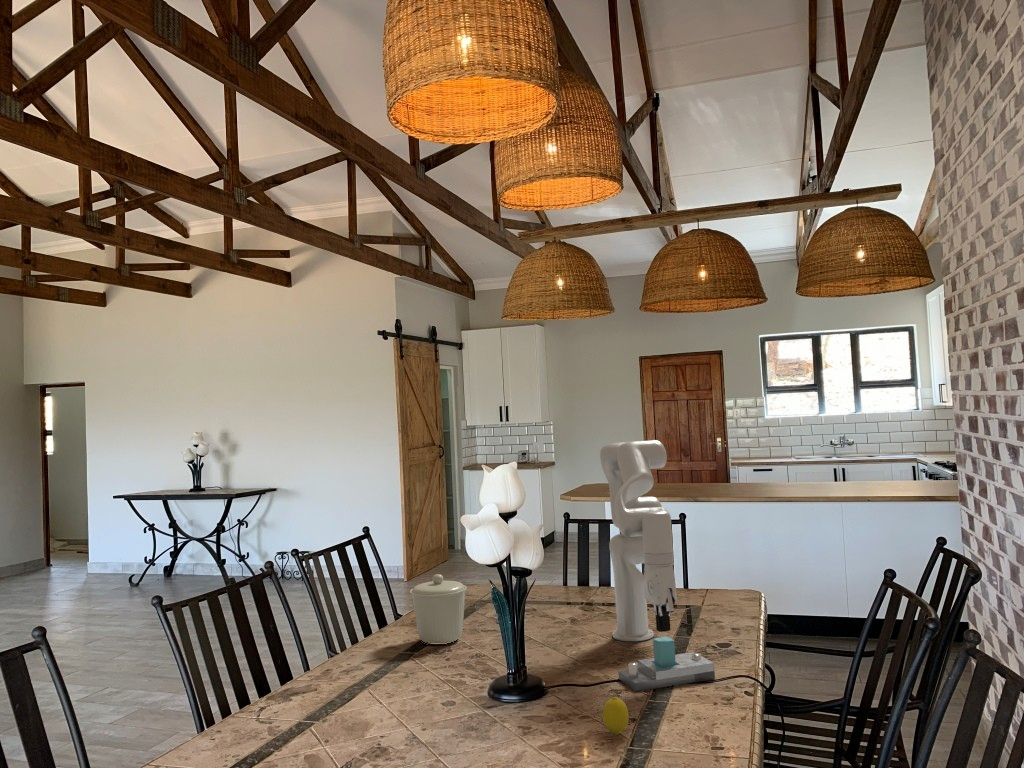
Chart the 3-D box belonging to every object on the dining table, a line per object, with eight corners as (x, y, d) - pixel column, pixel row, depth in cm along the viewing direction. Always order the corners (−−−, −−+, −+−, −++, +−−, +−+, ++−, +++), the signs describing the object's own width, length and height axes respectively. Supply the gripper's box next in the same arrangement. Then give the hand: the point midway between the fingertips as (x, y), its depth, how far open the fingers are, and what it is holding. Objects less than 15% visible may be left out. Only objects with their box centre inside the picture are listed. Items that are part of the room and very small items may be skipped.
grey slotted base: (618, 678, 207) (617, 659, 207) (694, 667, 213) (693, 648, 213) (635, 691, 197) (634, 671, 197) (714, 678, 203) (713, 658, 203)
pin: (655, 677, 206) (653, 638, 207) (669, 675, 208) (666, 636, 208) (662, 682, 203) (660, 642, 203) (676, 679, 204) (674, 640, 204)
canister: (473, 632, 260) (469, 567, 261) (464, 648, 243) (461, 579, 243) (419, 634, 262) (415, 569, 263) (406, 650, 244) (403, 581, 245)
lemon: (601, 730, 173) (599, 693, 174) (626, 728, 174) (624, 691, 174) (606, 741, 168) (604, 702, 168) (632, 738, 168) (630, 700, 169)
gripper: (633, 556, 212) (637, 626, 211) (658, 564, 198) (663, 639, 197) (658, 553, 214) (663, 622, 213) (685, 561, 200) (690, 635, 199)
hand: (663, 630), depth 205 cm, fingers closed
